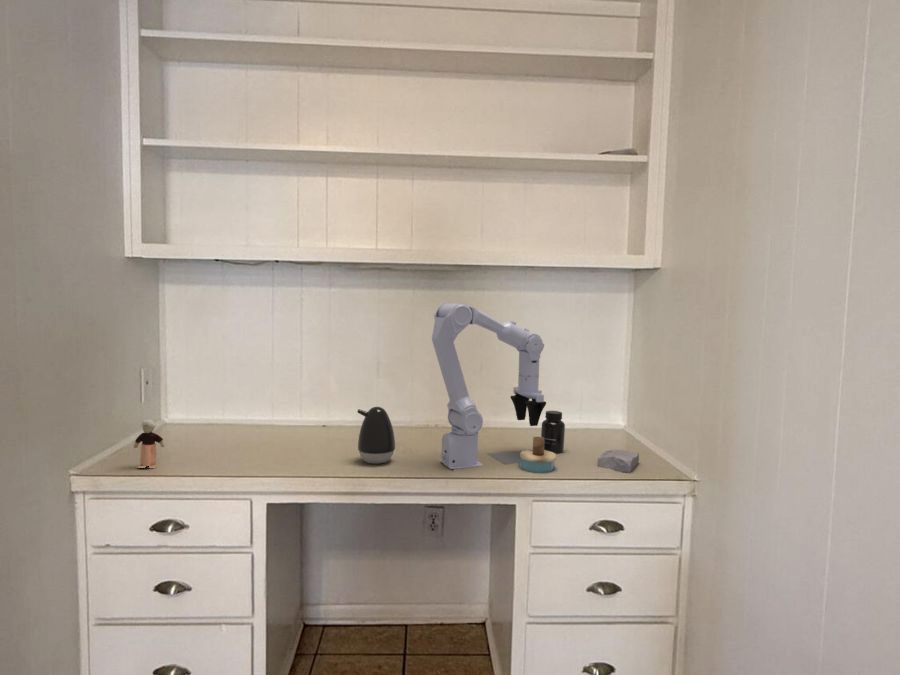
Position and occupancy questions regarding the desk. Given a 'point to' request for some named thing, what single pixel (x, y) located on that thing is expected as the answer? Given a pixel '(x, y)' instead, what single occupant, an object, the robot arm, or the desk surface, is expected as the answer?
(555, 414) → the supplement bottle
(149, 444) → the grandmother figurine
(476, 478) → the desk surface
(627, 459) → the stone block
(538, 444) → the lid
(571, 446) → the desk surface
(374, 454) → the pump dispenser
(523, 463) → the bowl
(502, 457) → the mat
